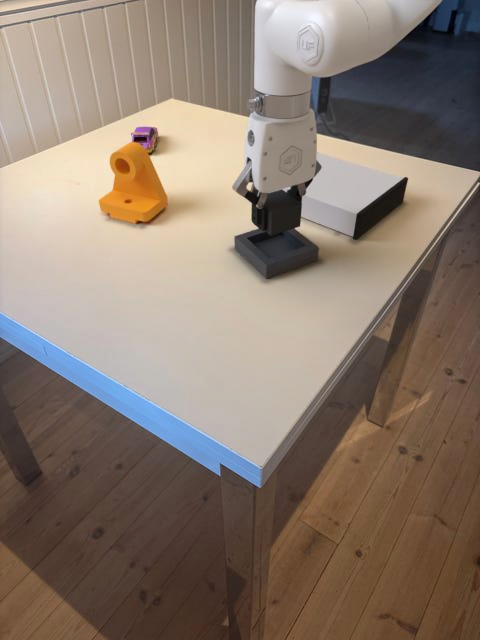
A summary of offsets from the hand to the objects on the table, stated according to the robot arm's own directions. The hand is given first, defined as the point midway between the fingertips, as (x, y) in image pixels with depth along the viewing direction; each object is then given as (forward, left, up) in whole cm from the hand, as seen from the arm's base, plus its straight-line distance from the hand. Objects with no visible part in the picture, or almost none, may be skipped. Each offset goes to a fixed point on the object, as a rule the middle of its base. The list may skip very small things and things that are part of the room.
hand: (276, 220), depth 77 cm
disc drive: (-19, -10, -6) cm, 22 cm away
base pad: (0, 0, -6) cm, 6 cm away
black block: (0, 0, 0) cm, 0 cm away
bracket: (+15, -26, -6) cm, 31 cm away
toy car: (+1, -55, -6) cm, 55 cm away
